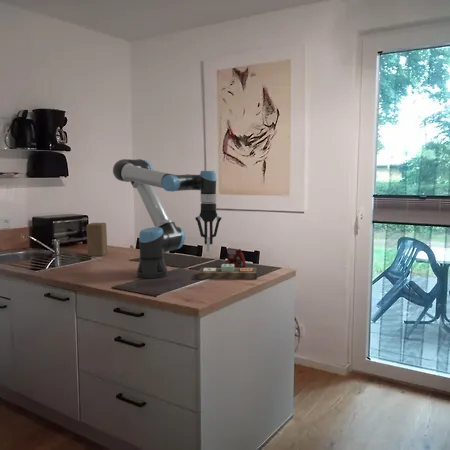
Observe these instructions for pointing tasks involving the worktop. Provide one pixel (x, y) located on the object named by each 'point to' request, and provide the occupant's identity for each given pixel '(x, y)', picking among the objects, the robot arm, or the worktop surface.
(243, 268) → the tile
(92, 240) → the wooden block
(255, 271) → the board
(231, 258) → the toy fire truck
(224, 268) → the tile
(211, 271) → the tile
